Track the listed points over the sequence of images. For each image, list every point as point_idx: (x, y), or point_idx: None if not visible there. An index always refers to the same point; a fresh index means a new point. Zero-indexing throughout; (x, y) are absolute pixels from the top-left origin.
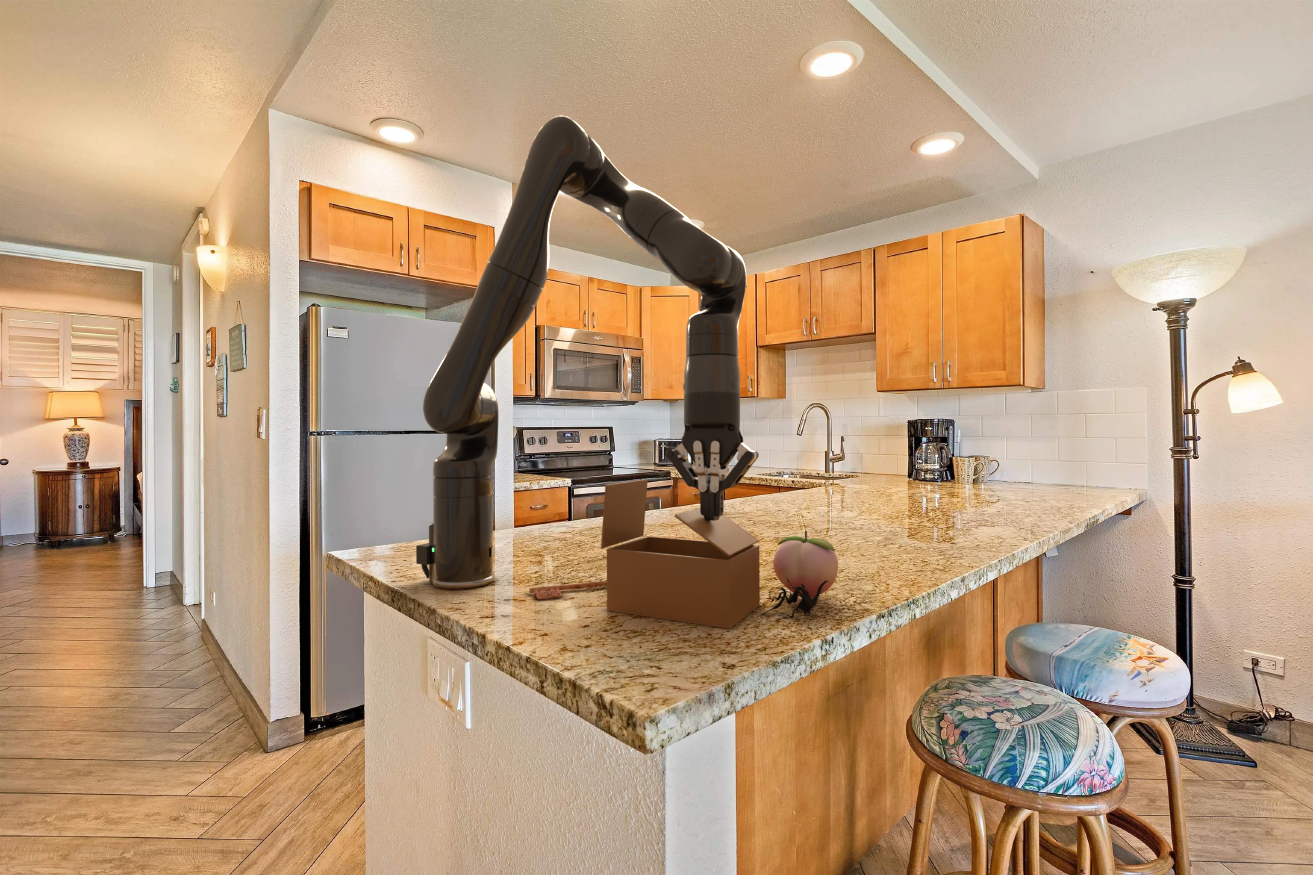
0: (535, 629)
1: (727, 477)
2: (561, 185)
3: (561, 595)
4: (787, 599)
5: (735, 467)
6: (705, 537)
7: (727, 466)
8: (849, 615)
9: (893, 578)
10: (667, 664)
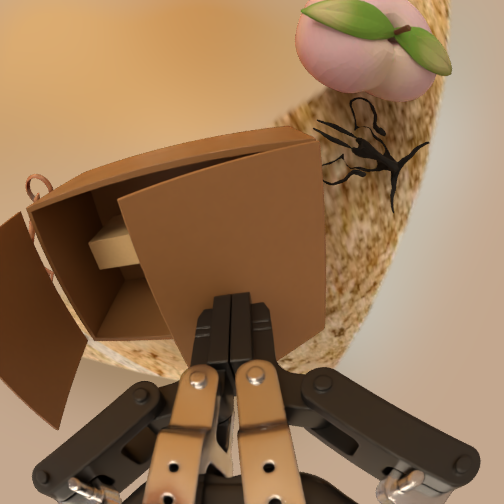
0: (136, 350)
1: (325, 438)
2: None
3: (53, 274)
4: (354, 151)
5: (366, 464)
6: (279, 358)
7: (295, 457)
8: (419, 114)
9: None
10: (291, 353)
